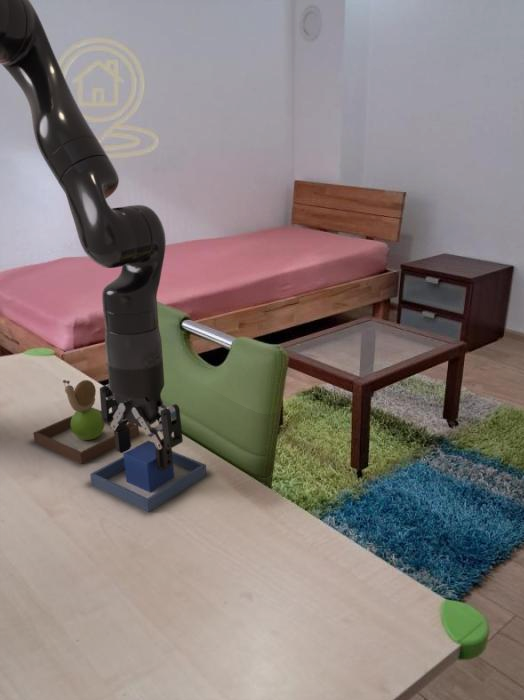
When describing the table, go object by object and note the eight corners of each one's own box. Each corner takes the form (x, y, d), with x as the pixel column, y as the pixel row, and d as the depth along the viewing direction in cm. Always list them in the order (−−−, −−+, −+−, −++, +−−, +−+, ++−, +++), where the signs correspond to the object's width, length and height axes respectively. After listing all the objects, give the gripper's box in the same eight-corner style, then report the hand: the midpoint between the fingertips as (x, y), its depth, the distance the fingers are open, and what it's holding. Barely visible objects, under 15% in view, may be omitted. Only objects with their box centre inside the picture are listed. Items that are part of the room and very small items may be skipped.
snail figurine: (61, 444, 105) (51, 378, 100) (87, 428, 110) (78, 364, 105) (88, 451, 103) (78, 383, 98) (112, 434, 109) (105, 369, 104)
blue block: (126, 482, 95) (123, 453, 93) (151, 468, 99) (148, 440, 97) (150, 493, 92) (147, 463, 90) (174, 478, 96) (172, 449, 94)
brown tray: (35, 445, 106) (32, 432, 104) (93, 419, 115) (91, 407, 113) (82, 467, 99) (80, 453, 98) (139, 438, 108) (138, 425, 107)
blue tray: (92, 488, 94) (89, 474, 93) (151, 455, 103) (150, 442, 102) (148, 516, 88) (147, 501, 87) (206, 478, 97) (206, 464, 96)
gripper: (191, 361, 86) (196, 463, 93) (120, 339, 93) (130, 435, 100) (150, 378, 81) (159, 486, 87) (78, 353, 88) (91, 454, 95)
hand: (143, 459), depth 94 cm, fingers open, 8 cm apart
